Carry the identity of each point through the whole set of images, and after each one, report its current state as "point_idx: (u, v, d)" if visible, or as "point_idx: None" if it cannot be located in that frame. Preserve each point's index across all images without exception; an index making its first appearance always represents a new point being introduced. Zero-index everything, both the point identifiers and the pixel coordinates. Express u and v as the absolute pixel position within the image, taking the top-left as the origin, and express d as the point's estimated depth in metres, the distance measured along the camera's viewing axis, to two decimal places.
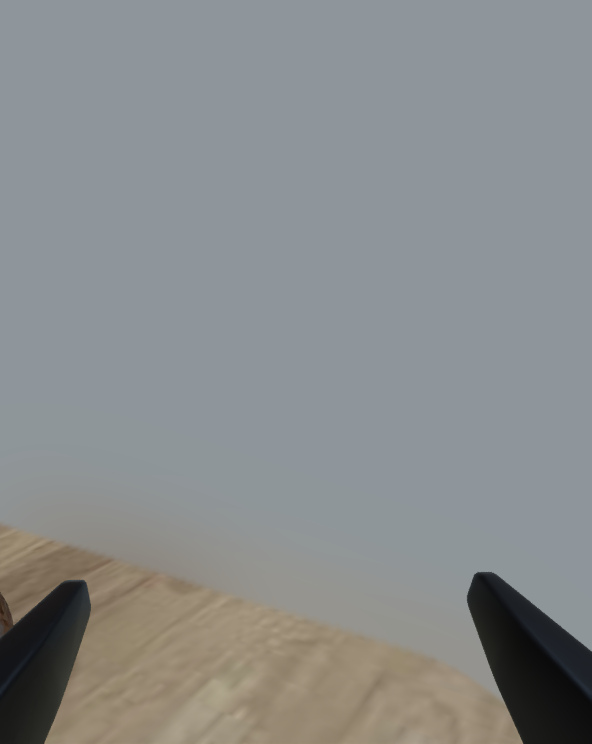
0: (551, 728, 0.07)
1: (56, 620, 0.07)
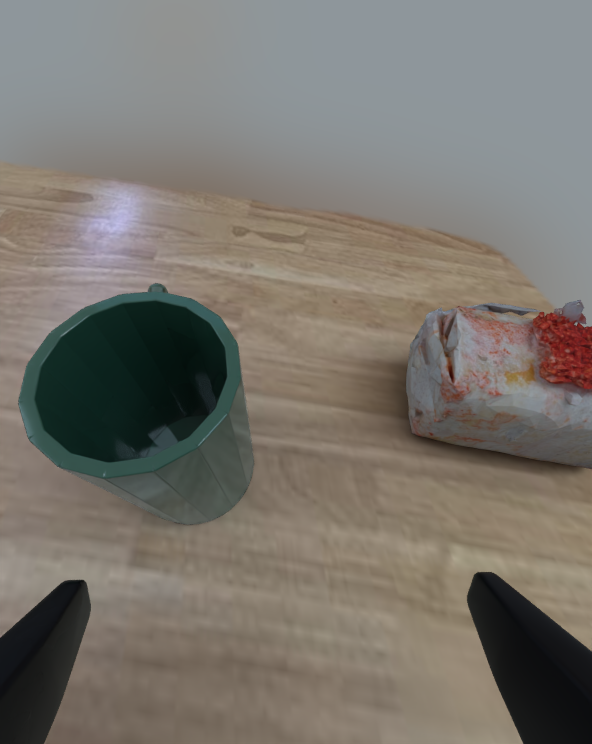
0: (550, 728, 0.07)
1: (56, 620, 0.07)
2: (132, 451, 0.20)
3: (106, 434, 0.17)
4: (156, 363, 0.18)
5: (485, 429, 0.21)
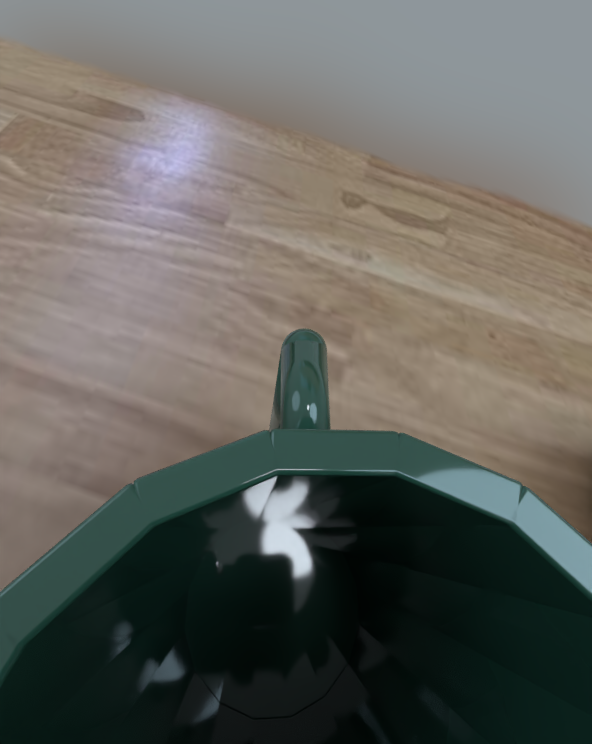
0: None
1: None
2: (175, 608, 0.11)
3: (138, 659, 0.07)
4: (266, 503, 0.08)
5: None
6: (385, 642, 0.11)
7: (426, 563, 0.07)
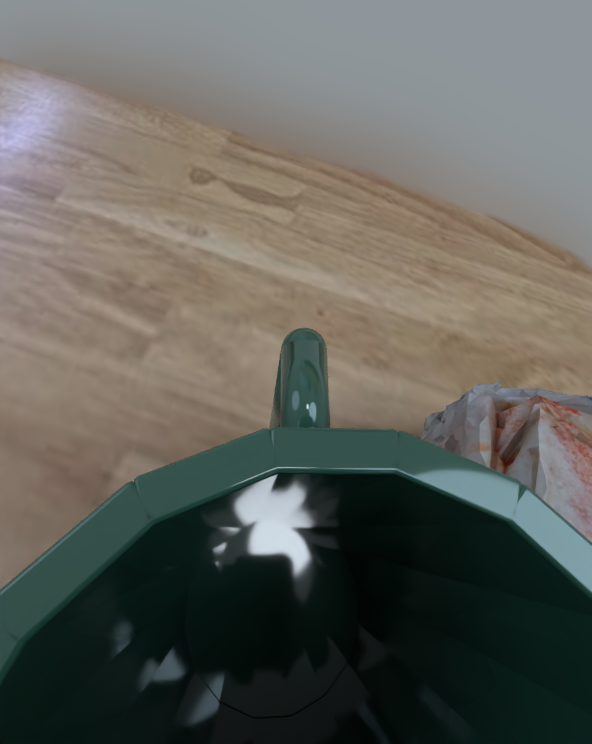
0: None
1: None
2: (175, 607, 0.11)
3: (138, 658, 0.07)
4: (266, 502, 0.08)
5: None
6: (385, 641, 0.11)
7: (426, 562, 0.07)
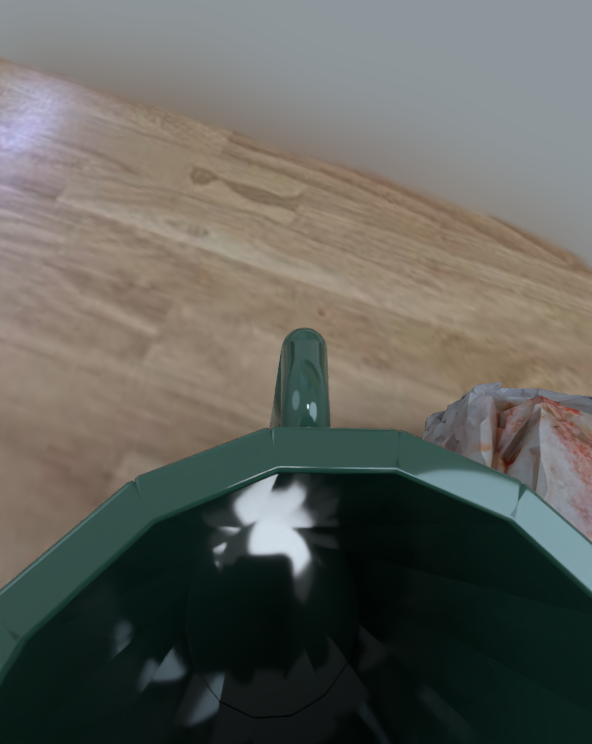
0: None
1: None
2: (175, 607, 0.11)
3: (138, 657, 0.07)
4: (266, 502, 0.08)
5: None
6: (385, 641, 0.11)
7: (426, 561, 0.07)
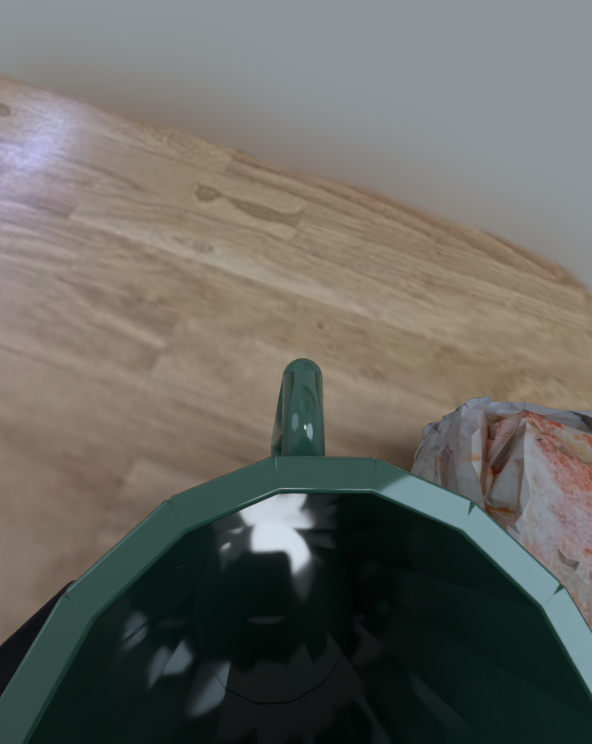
0: None
1: None
2: (186, 602, 0.12)
3: (157, 644, 0.09)
4: (269, 508, 0.09)
5: None
6: (376, 634, 0.12)
7: (407, 562, 0.08)
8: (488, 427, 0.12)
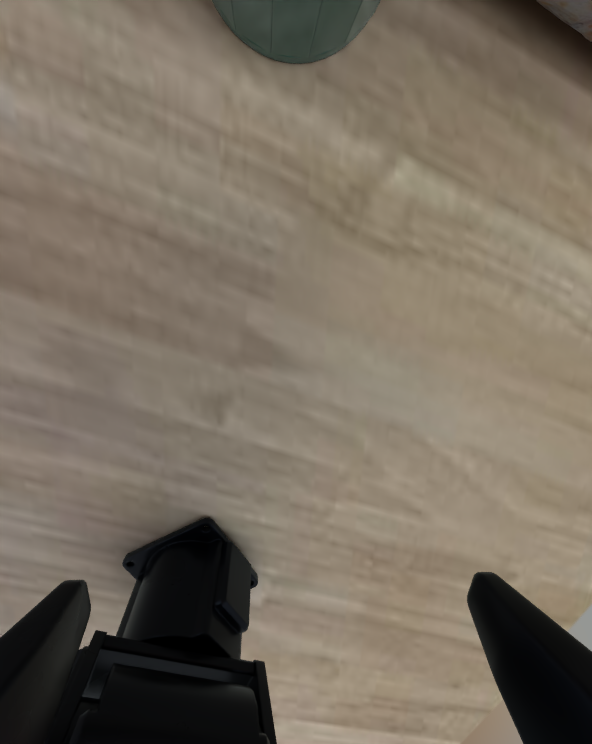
0: (550, 728, 0.07)
1: (56, 620, 0.07)
2: None
3: None
4: None
5: None
6: None
7: None
8: None
